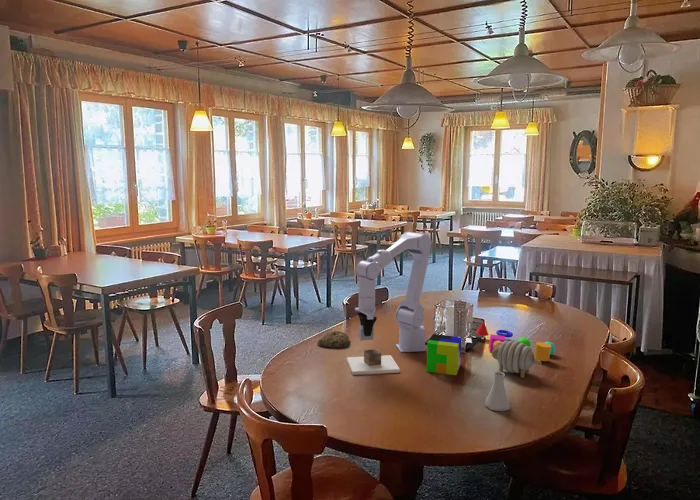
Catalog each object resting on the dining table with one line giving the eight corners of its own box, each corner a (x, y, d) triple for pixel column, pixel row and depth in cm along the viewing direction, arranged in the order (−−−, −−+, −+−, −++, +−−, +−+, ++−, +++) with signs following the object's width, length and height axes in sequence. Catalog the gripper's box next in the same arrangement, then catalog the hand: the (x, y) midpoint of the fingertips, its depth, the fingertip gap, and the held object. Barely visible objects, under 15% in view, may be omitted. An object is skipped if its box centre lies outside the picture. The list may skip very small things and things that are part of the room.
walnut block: (375, 359, 185) (375, 348, 184) (381, 364, 181) (381, 353, 180) (363, 361, 183) (364, 350, 182) (369, 366, 179) (369, 354, 178)
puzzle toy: (460, 364, 184) (461, 337, 183) (456, 375, 175) (457, 346, 173) (431, 361, 188) (432, 334, 186) (426, 371, 178) (427, 343, 177)
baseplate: (390, 358, 190) (390, 355, 189) (399, 372, 177) (399, 369, 177) (346, 360, 187) (346, 357, 187) (352, 375, 174) (352, 371, 174)
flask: (481, 401, 156) (482, 369, 155) (504, 400, 157) (506, 368, 155) (489, 412, 149) (491, 379, 148) (514, 411, 150) (516, 378, 148)
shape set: (561, 372, 182) (564, 352, 181) (458, 357, 187) (461, 338, 186) (544, 344, 211) (547, 326, 210) (455, 331, 216) (458, 314, 215)
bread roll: (346, 350, 198) (346, 337, 197) (315, 347, 201) (315, 335, 200) (353, 339, 211) (353, 327, 210) (323, 337, 213) (323, 325, 212)
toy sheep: (496, 363, 186) (497, 332, 184) (545, 374, 177) (547, 342, 175) (485, 372, 178) (486, 341, 176) (536, 385, 168) (538, 351, 166)
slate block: (371, 335, 187) (371, 324, 186) (373, 339, 183) (373, 328, 182) (358, 336, 186) (358, 325, 186) (360, 340, 182) (360, 329, 181)
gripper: (352, 290, 188) (351, 327, 191) (358, 301, 174) (358, 340, 177) (371, 290, 189) (371, 326, 192) (379, 300, 175) (379, 340, 178)
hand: (366, 333), depth 184 cm, fingers closed on slate block, 4 cm apart
